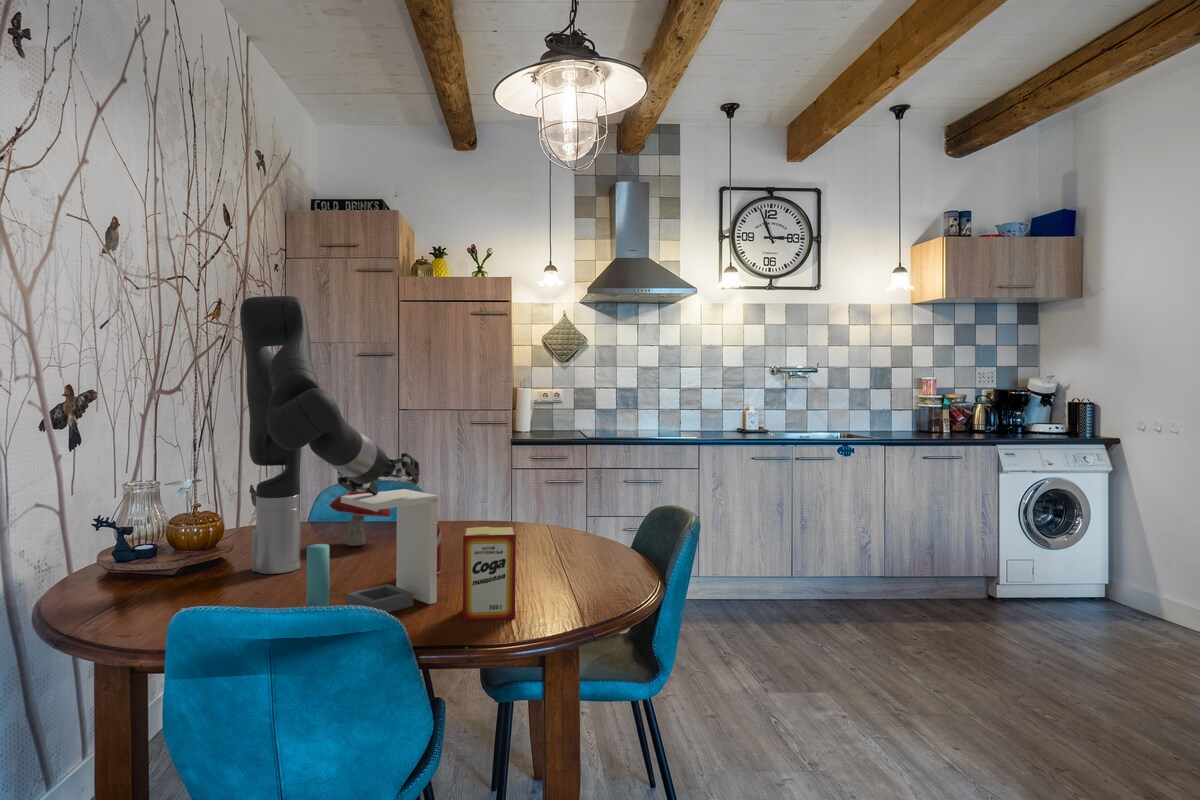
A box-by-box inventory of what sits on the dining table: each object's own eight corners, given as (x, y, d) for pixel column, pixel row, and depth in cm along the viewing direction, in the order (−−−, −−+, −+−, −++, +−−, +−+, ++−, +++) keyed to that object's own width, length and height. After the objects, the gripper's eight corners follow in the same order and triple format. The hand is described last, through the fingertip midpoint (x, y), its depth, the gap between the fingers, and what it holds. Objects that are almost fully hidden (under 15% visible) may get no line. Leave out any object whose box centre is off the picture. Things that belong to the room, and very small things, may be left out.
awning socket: (372, 619, 127) (373, 503, 126) (340, 605, 135) (340, 496, 134) (437, 602, 137) (438, 495, 137) (403, 590, 145) (404, 489, 145)
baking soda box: (513, 607, 134) (514, 525, 134) (515, 618, 128) (515, 532, 128) (463, 609, 133) (464, 526, 133) (462, 621, 126) (463, 533, 126)
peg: (302, 611, 131) (302, 548, 130) (313, 605, 135) (313, 543, 134) (322, 612, 130) (323, 549, 130) (333, 605, 134) (333, 544, 134)
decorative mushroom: (346, 537, 194) (346, 484, 194) (400, 539, 193) (401, 485, 192) (317, 550, 179) (317, 492, 178) (376, 553, 177) (376, 494, 177)
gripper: (393, 427, 123) (428, 459, 138) (317, 446, 124) (361, 476, 139) (395, 465, 120) (431, 494, 134) (317, 485, 121) (362, 511, 135)
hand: (395, 485), depth 137 cm, fingers open, 8 cm apart
